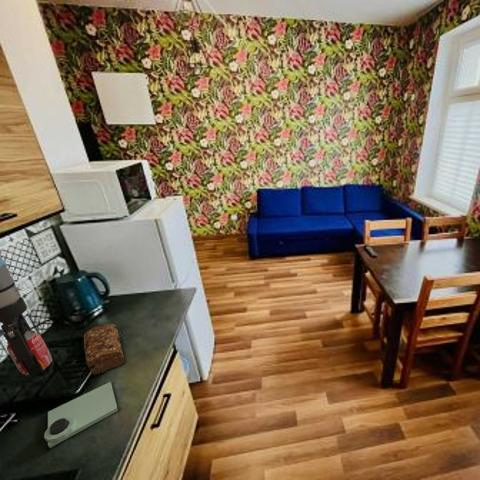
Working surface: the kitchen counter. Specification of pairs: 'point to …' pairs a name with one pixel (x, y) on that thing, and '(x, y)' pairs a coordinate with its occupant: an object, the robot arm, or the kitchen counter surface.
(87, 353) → the bread
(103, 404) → the scale
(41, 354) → the soda can
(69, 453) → the kitchen counter surface
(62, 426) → the button
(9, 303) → the robot arm
